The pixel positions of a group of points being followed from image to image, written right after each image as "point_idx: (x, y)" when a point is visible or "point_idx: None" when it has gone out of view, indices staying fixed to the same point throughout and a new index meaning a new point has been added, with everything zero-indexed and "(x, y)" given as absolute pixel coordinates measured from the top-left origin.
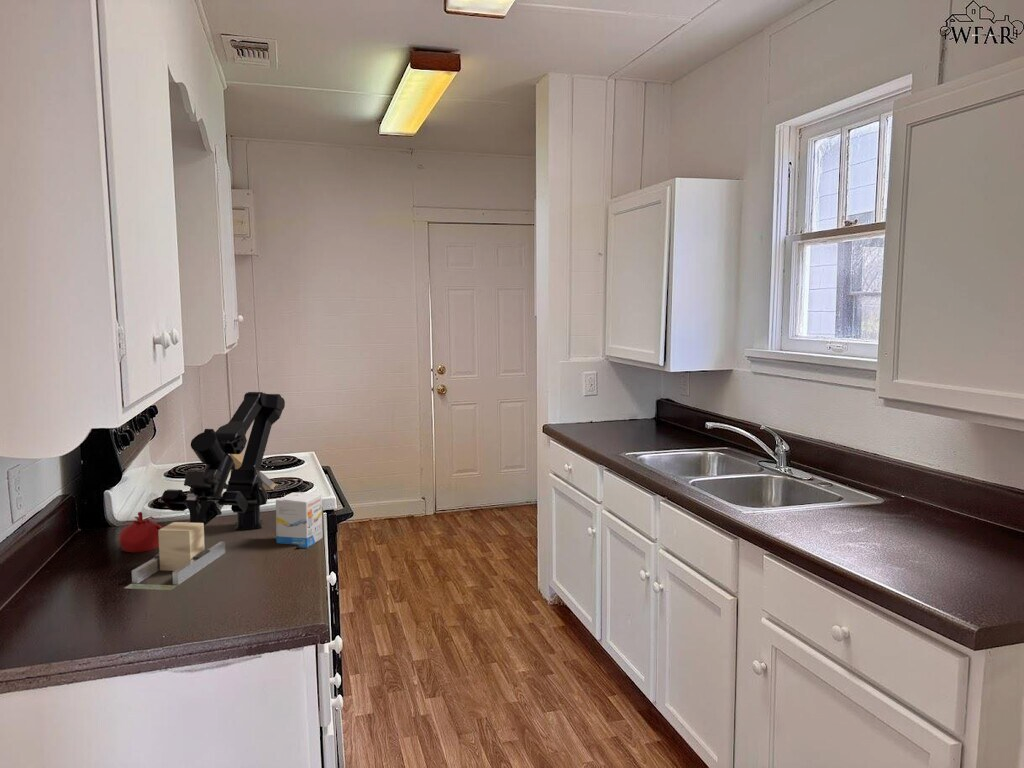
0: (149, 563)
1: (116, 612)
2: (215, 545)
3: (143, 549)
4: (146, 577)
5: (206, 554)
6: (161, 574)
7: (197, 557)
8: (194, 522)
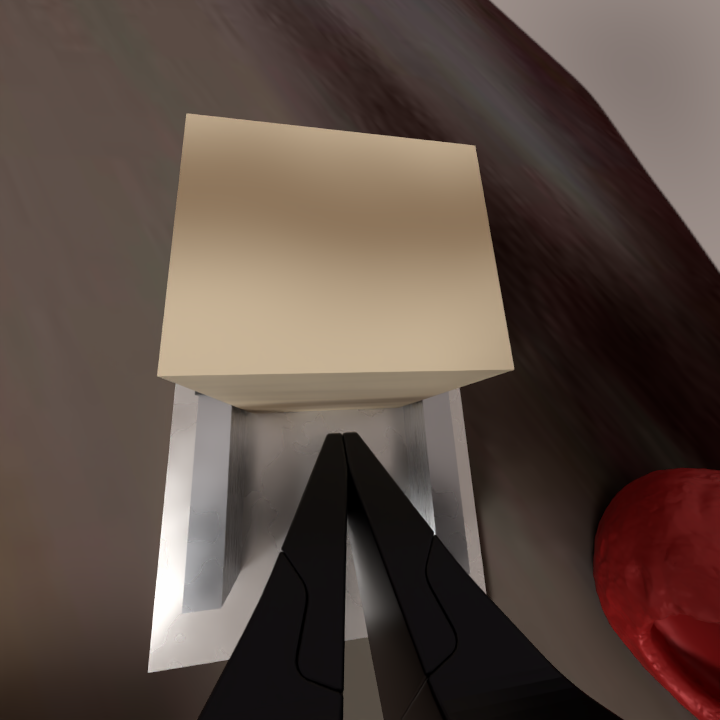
0: None
1: (322, 46)
2: (215, 514)
3: (616, 499)
4: None
5: None
6: None
7: None
8: (359, 509)
